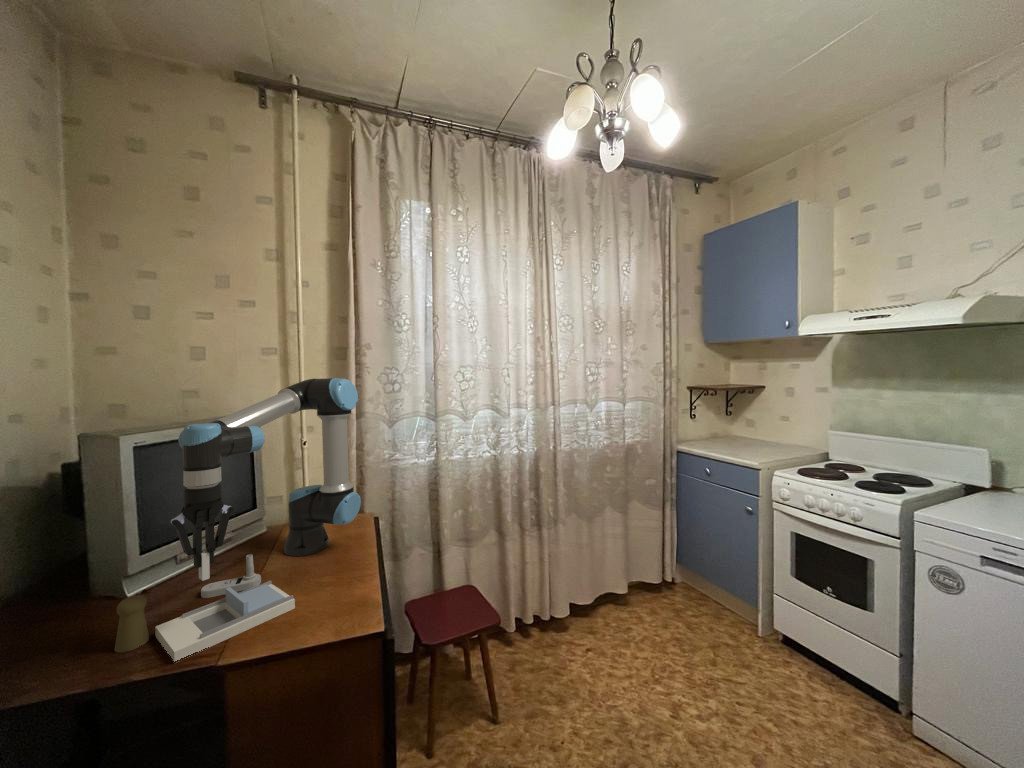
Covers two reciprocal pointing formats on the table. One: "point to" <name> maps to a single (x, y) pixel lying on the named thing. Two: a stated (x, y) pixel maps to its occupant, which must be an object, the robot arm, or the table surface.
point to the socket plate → (215, 624)
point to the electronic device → (233, 582)
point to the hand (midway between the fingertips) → (204, 578)
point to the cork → (131, 624)
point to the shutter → (252, 599)
